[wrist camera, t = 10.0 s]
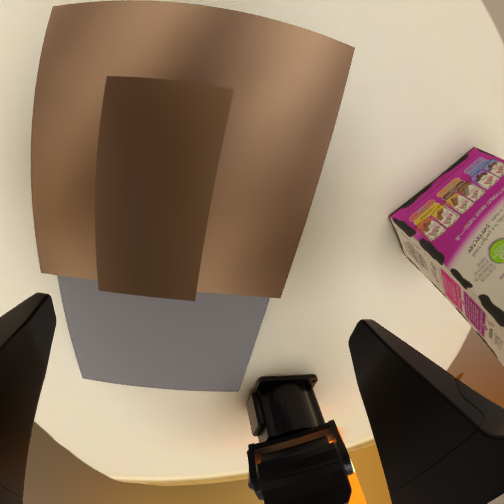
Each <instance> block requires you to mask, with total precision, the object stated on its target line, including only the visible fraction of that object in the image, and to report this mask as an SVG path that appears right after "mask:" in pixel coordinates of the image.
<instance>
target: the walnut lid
mask: <svg viewBox="0 0 504 504" xmlns="http://www.w3.org/2000/svg"><path fill="white" fill-rule="evenodd" d="M354 49H355V48H354V47H352V46H350V45H347V44H345V43H342V42H340V41H337V40H335V39H332V38H329V37H327V36H324V35H321V34H318V33H316V32H313V31H310V30H307V29H304V28H301V27H297V26H294V25H291V24H287V23H284V22H280V21H277V20H273V19H269V18H265V17H261V16H257V15H253V14H248V13H244V12H239V11H234V10H228V9H223V8H217V7H210V6H203V5H195V4H186V3H176V2H162V1H100V2H87V3H77V4H68V5H61V6H54V7H53V8H52V12H51V15H50V19H49V22H48V26H47V30H46V34H45V38H44V43H43V47H42V52H41V57H40V63H39V68H38V74H37V81H36V88H35V97H34V106H33V118H32V134H31V189H32V205H33V217H34V227H35V236H36V243H37V250H38V257H39V263H40V269H41V273H47V274H53V275H60V276H67V277H74V278H81V279H88V280H95V281H98V289H99V291H105V292H113V293H121V294H129V295H138V296H147V297H156V298H166V299H176V300H187V301H195V299H196V292H205V293H216V294H228V295H241V296H255V297H270V298H281V295H282V292H283V289H284V286H285V283H286V280H287V277H288V274H289V271H290V268H291V265H292V262H293V259H294V256H295V253H296V250H297V247H298V244H299V241H300V238H301V235H302V232H303V229H304V226H305V223H306V220H307V216H308V213H309V210H310V207H311V204H312V200H313V197H314V194H315V191H316V187H317V184H318V181H319V178H320V174H321V171H322V167H323V164H324V161H325V157H326V154H327V150H328V147H329V143H330V140H331V136H332V133H333V129H334V126H335V122H336V119H337V115H338V111H339V108H340V104H341V100H342V96H343V93H344V89H345V85H346V81H347V77H348V73H349V69H350V65H351V61H352V57H353V53H354Z"/></svg>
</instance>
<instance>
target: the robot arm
mask: <svg viewBox="0 0 504 504" xmlns="http://www.w3.org/2000/svg"><path fill="white" fill-rule="evenodd" d="M55 327H56V315H55V311H54V307H53V302H52V298H51V296H50V295H49V294H44V293H36V294H34V295H32V296H31V297H29V298H28V299H26V300H25V301H23V302H22V303H20V304H19V305H17V306H16V307H14V308H13V309H11V310H10V311H8V312H7V313H6V314H4V315H3V316H1V317H0V504H23V499H22V498H23V489H24V479H25V470H26V463H27V456H28V450H29V444H30V438H31V432H32V428H33V423H34V418H35V414H36V409H37V405H38V401H39V397H40V393H41V389H42V385H43V382H44V378H45V374H46V370H47V365H48V360H49V355H50V350H51V345H52V340H53V336H54V331H55ZM349 349H350V353H351V357H352V362H353V366H354V370H355V375H356V379H357V384H358V387H359V391H360V394H361V397H362V400H363V403H364V406H365V409H366V413H367V416H368V419H369V422H370V425H371V429H372V432H373V435H374V439H375V442H376V445H377V449H378V452H379V456H380V459H381V463H382V467H383V470H384V474H385V478H386V481H387V485H388V489H389V492H390V497H391V501H392V504H504V409H503V408H502V407H500V406H499V405H497V404H495V403H493V402H492V401H490V400H489V399H487V398H485V397H484V396H482V395H480V394H479V393H477V392H476V391H474V390H472V389H471V388H470V387H468V386H467V385H465V384H464V383H462V382H461V381H460V380H458V379H457V378H454V376H453V375H451V374H449V373H448V372H447V371H445V370H444V369H443V368H441V367H440V366H438V365H437V364H435V363H434V362H433V361H431V360H430V359H428V358H427V357H425V356H424V355H423V354H421V353H420V352H418V351H417V350H415V349H414V348H413V347H411V346H410V345H408V344H407V343H405V342H404V341H403V340H401V339H400V338H398V337H397V336H395V335H394V334H392V333H391V332H390V331H388V330H387V329H385V328H384V327H382V326H381V325H379V324H378V323H376V322H375V321H374V320H371V319H362V320H360V321H359V322H358V323H357V325H356V327H355V329H354V331H353V333H352V334H351V336H350V338H349ZM317 380H318V379H317V376H315V375H312V376H295V377H267V378H261V379H259V380H258V383H257V385H256V387H255V390H254V392H253V393H252V394H251V396H250V398H249V401H248V403H247V410H248V415H249V420H250V425H251V430H252V434H253V435H254V436H258V439H259V443H257V444H254V443H253V444H249V445H248V447H249V450H248V451H247V455H248V462H249V480H248V485H249V488H250V489H252V490H254V491H255V493H256V495H257V497H258V498H259V499H260V500H264V503H265V504H348V503H349V500H350V497H351V493H352V488H351V485H350V482H349V479H348V476H350V475H352V474H354V472H353V467H352V463H351V460H350V457H349V454H348V452H347V449H346V447H345V445H344V442H343V440H342V438H341V436H340V433H339V431H338V429H337V426H336V424H335V422H334V420H331V421H328V423H325V421H324V418H323V416H322V413H321V410H320V407H319V405H318V402H317V399H316V396H315V394H314V391H313V387H314V385H315V384H316V382H317ZM330 441H332V442H331V443H329V442H330Z"/></svg>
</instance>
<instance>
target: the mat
mask: <svg viewBox="0 0 504 504" xmlns="http://www.w3.org/2000/svg"><path fill="white" fill-rule="evenodd" d="M58 281H59V287H60V292H61V298H62V303H63V307H64V312H65V316H66V321H67V325H68V329H69V333H70V337H71V341H72V344H73V348H74V351H75V355H76V358H77V362H78V365H79V368H80V371H81V374H82V377H83V378H84V379H90V380H96V381H102V382H108V383H115V384H123V385H131V386H140V387H149V388H161V389H174V390H191V391H222V392H238V391H239V388H240V385H241V382H242V379H243V377H244V374H245V371H246V368H247V365H248V362H249V359H250V356H251V353H252V350H253V347H254V344H255V341H256V338H257V335H258V332H259V329H260V326H261V323H262V320H263V317H264V314H265V311H266V308H267V305H268V302H269V299H270V297H255V296H241V295H228V294H216V293H205V292H196V299H195V301H187V300H176V299H166V298H156V297H147V296H138V295H129V294H121V293H113V292H105V291H99V289H98V281H95V280H88V279H81V278H74V277H67V276H60V275H58Z"/></svg>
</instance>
